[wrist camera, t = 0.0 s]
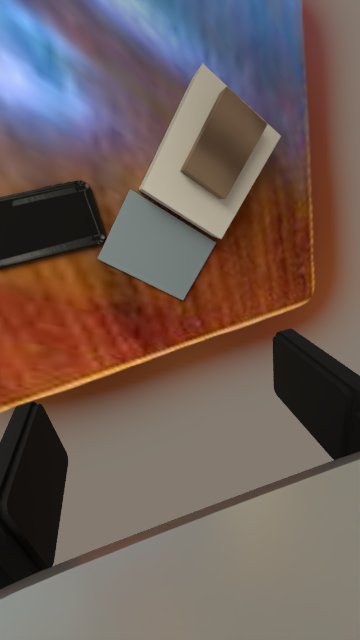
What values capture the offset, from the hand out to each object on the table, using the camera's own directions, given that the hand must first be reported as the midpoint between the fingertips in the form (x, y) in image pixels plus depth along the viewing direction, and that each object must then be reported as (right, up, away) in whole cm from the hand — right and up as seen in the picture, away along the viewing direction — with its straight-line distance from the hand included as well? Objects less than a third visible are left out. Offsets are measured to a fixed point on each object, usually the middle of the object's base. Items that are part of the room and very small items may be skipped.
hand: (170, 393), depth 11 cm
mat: (-3, +13, +29) cm, 32 cm away
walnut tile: (+5, +23, +22) cm, 32 cm away
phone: (-18, +15, +24) cm, 34 cm away
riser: (+3, +24, +26) cm, 35 cm away
